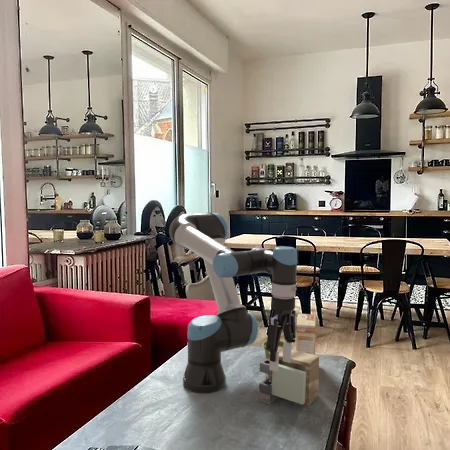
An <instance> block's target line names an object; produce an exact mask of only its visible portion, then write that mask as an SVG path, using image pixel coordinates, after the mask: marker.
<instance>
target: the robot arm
mask: <svg viewBox="0 0 450 450" xmlns="http://www.w3.org/2000/svg"><path fill="white" fill-rule="evenodd" d="M228 228H229V227H228V224H227V222H226V219H225V218H224V217H223V216H222V215H221V214H220V213H217V212H211V211H210V212H201V213H183V214H179V215H178V216H176V217H175V218H174V219H173V220H172V221H171V223H170V225H169V228H168V229H169V231H168V232H169V236H170V239H171V241H172V242H173V243H175V245H177V246H178V247H180V248H186V249H188V250H189V251H190V252H192V253H194V254H195V255H197V256H198V257H200V258H201V259H203V261H204V264H205V266H206V271H207V274H208V277H209V282H210V284H211V288H212V293H213V295H214V299H215V301H216V306H217V310H218V311H217V312H216V314H208V315H207V314H206V315H205V314H204V315H200V316H197V317H195V318H193V319H191V320H190V322H189V323H188V325H187V335H186V336H187V363H186V366H185V367H186V368H185V371H184V375H183V378H182V385H183V387H184V388H185V389H186V390H187V391H189V392H194V393H199V394H200V393H201V394H207V393H215V392H217V391H220V390H222V389H223V388H224V387H225V386H226V383H227V381H226V380H227V379H226V378H227V376H226V373H225V371H224V367H223V365H222V353H223V352H227V351H232V350H235V349H239V348H245V347H247V346H250V345H252V344H254V343H255V341H256V340H257V336H258V333H259V323H258V321H257V318H256V316H255V315H254V314H253V313H251V312H248V309H247V307H246V306H245V305H243V304H242V303H241V301H240V297H239V295H238V294H239V293H238V291H237V289H236V284H235V281H234V278H233V277H238V276H244V275H246V276H247V275H252V274H253V275H255V274H260V273H265V274H269V275H271V292H270V293H271V295H272V296H271V297H270V299H271V300H270V306H271V308H272V309H273V310H274V313H273V317H269V318H268V330H267V339H266V341H267V344H266V350H270V365H269V370H272V371H275V372H278V363H279V351H277V350H278V346H279V341H281V337H282V334H283V337H284V340H283V361H284V362H288V363H291V352H292V350H293V349H292V347H293V344H295V343H296V334H297V332H296V313H297V312H296V310H295V309H296V297H295V296H296V291H297V289H298V288H297V274H298V273H297V272H298V271H297V269H298V250H297V249H296V248H295V247H293V246H284V245H279V246H275V247H274V248H273V250H271V249H267V248H264V247H253V248H251V250H244V251H243V250H242V251H241V250H240V251H234V250H233V249H231V248H229V247H227V246H226V245H225V243H226V238H227V237H228V231H229V230H228ZM282 332H283V333H282Z"/></svg>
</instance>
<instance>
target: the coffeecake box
mask: <svg viewBox="0 0 450 450" xmlns="http://www.w3.org/2000/svg"><path fill="white" fill-rule="evenodd" d="M316 323H317V321H316V314H310V313H298V314H297V320H296V338H295V343H296V344H295V346H296V347H295V350H296V351H300V352H305V353H309V354H313V355H316V328H317V327H316V326H317V325H316Z"/></svg>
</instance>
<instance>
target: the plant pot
mask: <svg viewBox="0 0 450 450" xmlns="http://www.w3.org/2000/svg"><path fill="white" fill-rule="evenodd" d="M283 342H284V340H280V341H279V346H278V347H283ZM266 344H267V340H265V341H263V343H262V346H263V349H264V352H265V359H268V353H269V352H270V350H266Z"/></svg>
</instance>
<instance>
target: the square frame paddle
mask: <svg viewBox="0 0 450 450" xmlns="http://www.w3.org/2000/svg"><path fill="white" fill-rule="evenodd" d="M269 365H270V360H269V359H266V358H265V359H263V360H262V361H261V362H259V372H260V373H262V374H265V375H266V374H269V375H271V374H272V381H270V380H269V385H267V384H266V378H265V379H264V380H262V381H260V382H259V384H258V385H259V387H258V391H259V392H260V393H263V394H266V395H269V396H270V395H271V394H272V395H275V396H278V398H282V399H284V400H286V401H287V400H288V401H290V402H294V403H295V404H298V405H302V406H303V405H305V404H304V403H305V387H306V372H304V371H301V370H298V369H294V368H291V367H287V366H284V365H280V364H278V372H275V371H272V370H269Z"/></svg>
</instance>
